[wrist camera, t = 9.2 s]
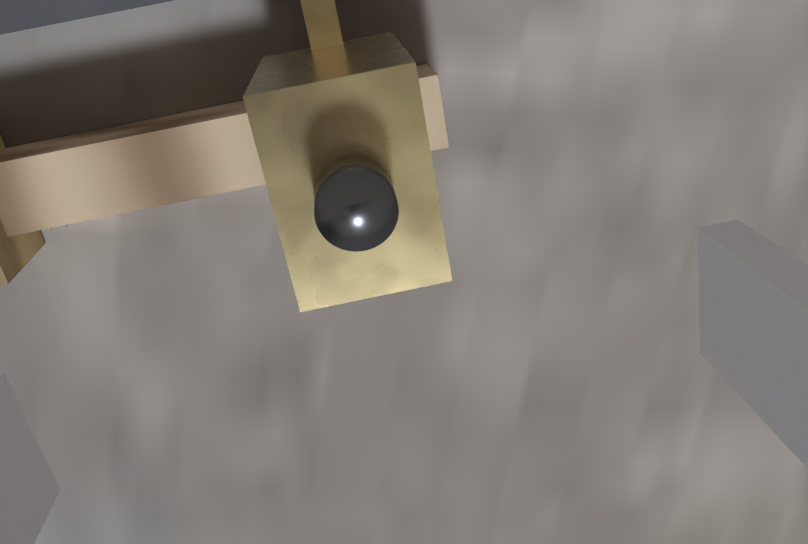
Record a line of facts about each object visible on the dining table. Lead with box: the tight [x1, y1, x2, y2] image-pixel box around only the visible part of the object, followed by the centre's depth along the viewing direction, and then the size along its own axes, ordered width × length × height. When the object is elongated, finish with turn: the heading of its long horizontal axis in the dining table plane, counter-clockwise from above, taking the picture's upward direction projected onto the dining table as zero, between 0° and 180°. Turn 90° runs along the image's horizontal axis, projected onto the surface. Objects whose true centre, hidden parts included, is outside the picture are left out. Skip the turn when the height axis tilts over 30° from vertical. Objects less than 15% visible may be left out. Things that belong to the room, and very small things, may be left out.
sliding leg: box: [243, 0, 452, 312], centre depth 24 cm, size 5×15×11 cm, turn 10°
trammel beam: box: [0, 64, 449, 285], centre depth 29 cm, size 24×14×4 cm, turn 100°
